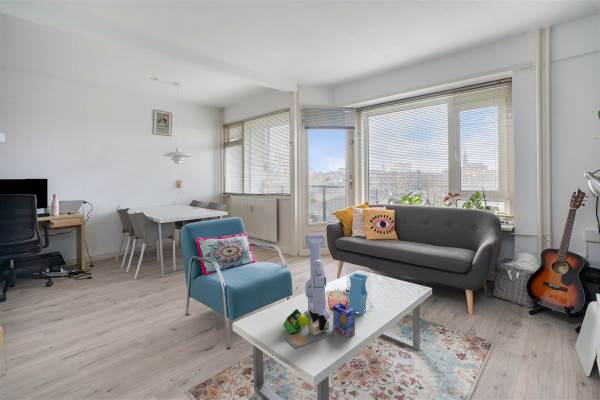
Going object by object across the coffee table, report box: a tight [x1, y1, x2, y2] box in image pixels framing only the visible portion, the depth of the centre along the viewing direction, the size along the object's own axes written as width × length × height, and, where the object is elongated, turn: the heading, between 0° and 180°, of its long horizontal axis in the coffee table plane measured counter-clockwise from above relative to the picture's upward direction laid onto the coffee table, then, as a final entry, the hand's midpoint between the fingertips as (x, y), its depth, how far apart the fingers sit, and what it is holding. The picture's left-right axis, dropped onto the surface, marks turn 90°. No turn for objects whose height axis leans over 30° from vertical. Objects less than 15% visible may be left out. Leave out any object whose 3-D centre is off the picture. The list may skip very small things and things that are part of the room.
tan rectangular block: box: [307, 319, 330, 336], centre depth 140 cm, size 9×4×4 cm, turn 122°
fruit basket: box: [282, 308, 312, 335], centre depth 141 cm, size 11×9×11 cm
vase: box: [347, 272, 368, 316], centre depth 162 cm, size 8×8×20 cm
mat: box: [284, 329, 334, 350], centre depth 137 cm, size 21×10×1 cm, turn 122°
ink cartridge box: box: [332, 302, 356, 338], centre depth 141 cm, size 10×6×14 cm, turn 38°
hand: (318, 327), depth 140 cm, fingers closed on tan rectangular block, 4 cm apart
